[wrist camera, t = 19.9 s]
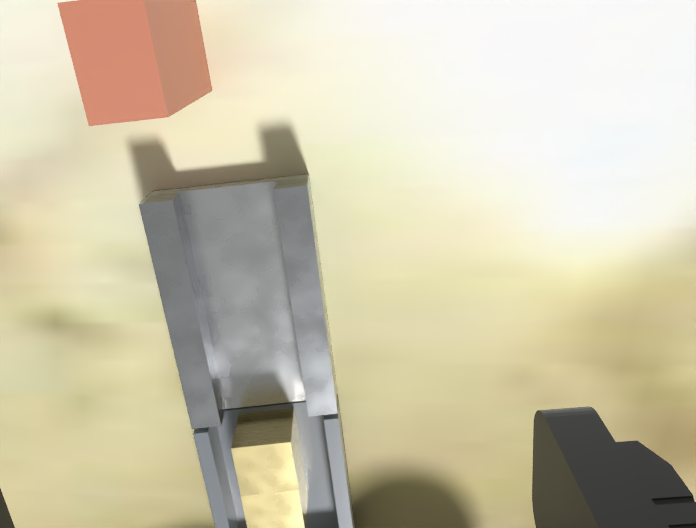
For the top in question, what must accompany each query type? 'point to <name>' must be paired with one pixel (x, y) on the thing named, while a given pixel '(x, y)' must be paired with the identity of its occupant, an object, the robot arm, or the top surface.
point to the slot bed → (243, 295)
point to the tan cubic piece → (267, 451)
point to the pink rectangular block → (135, 57)
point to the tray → (317, 457)
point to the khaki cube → (277, 507)
